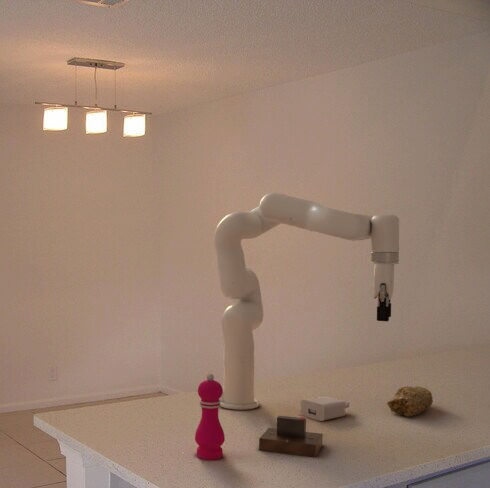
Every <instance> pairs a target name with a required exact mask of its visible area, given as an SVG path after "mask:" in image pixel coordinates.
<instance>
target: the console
mask: <svg viewBox="0 0 490 488" xmlns="http://www.w3.org/2000/svg"><path fill="white" fill-rule="evenodd" d="M323 435H324V434H323V433H319V432H310V431H306V437H305V438H297V437H288V436H279V435H277V427H268V428H267V429H266V430H265V431H264V432H263V434H261V435H260V436H259V438H258V450H259V451H263V452H264V451H265V452H272V453H280V454H281V453H282V454H287V455H288V454H289V455H296V456H305V457H313V458H316V457H317V455H318V454H319V452H320V450H321V448H322V447H323V440H324V439H323V437H324V436H323Z"/></svg>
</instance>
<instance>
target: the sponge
mask: <svg viewBox="0 0 490 488" xmlns="http://www.w3.org/2000/svg"><path fill="white" fill-rule="evenodd" d="M433 403H434V401H433V394H432V392H431V391H430V390H429V389H427V388H425V387H422V386H401V387H399V388H398V389H397V390H396V393H394V397H392V398H391V399H390V400H389V401H387V403H386V404H387V406H388V408H389V409H390V411H391V412H393V413H395V414H397V415H403V416H405V417H413V416H416V415H419V414H421V413H422V412H423V411H426V410H427V409H429V408H431V406H432V405H433Z"/></svg>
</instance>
